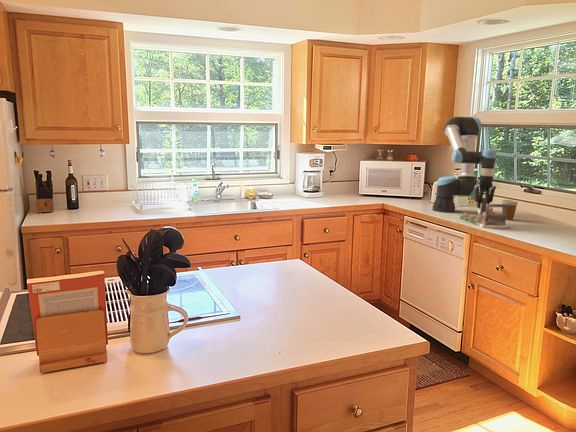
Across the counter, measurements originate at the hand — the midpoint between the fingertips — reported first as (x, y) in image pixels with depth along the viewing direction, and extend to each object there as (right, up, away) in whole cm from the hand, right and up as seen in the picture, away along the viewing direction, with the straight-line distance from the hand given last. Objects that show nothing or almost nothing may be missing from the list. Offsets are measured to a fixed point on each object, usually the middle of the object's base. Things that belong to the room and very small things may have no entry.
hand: (481, 213), depth 293 cm
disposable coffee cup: (+22, -4, +14) cm, 26 cm away
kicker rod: (+1, -4, -3) cm, 5 cm away
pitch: (0, -6, -1) cm, 6 cm away
